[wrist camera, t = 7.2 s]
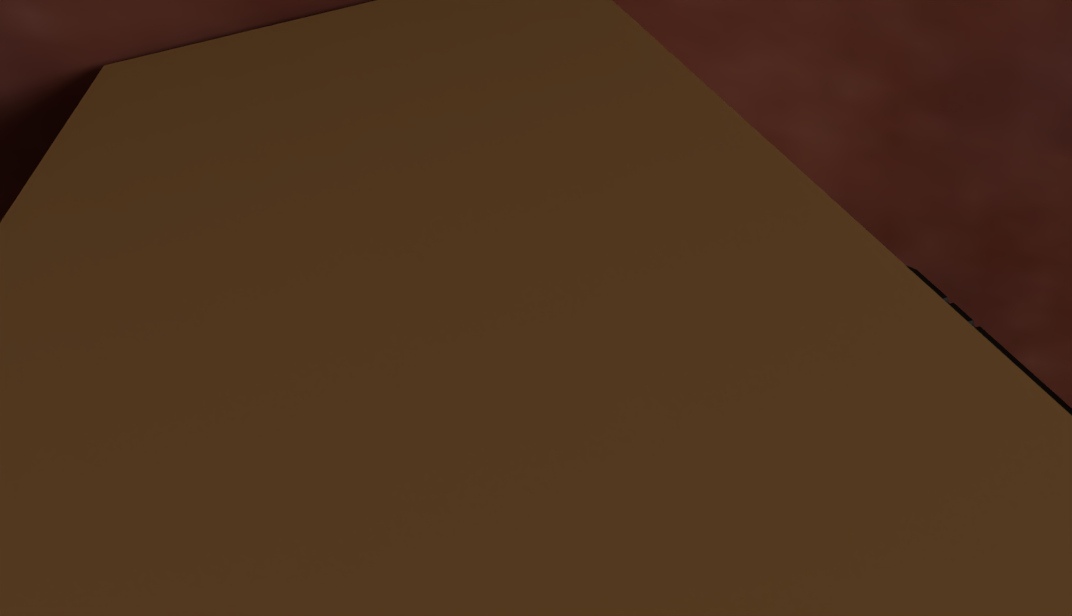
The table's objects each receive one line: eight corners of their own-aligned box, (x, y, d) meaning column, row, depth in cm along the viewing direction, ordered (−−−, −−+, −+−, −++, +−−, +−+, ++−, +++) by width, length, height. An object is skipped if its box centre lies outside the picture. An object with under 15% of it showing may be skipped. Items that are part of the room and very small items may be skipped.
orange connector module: (624, 333, 16) (1076, 1221, 6) (264, 429, 15) (174, 1529, 6) (562, -45, 12) (1304, 626, 3) (103, 65, 12) (-656, 1217, 3)
